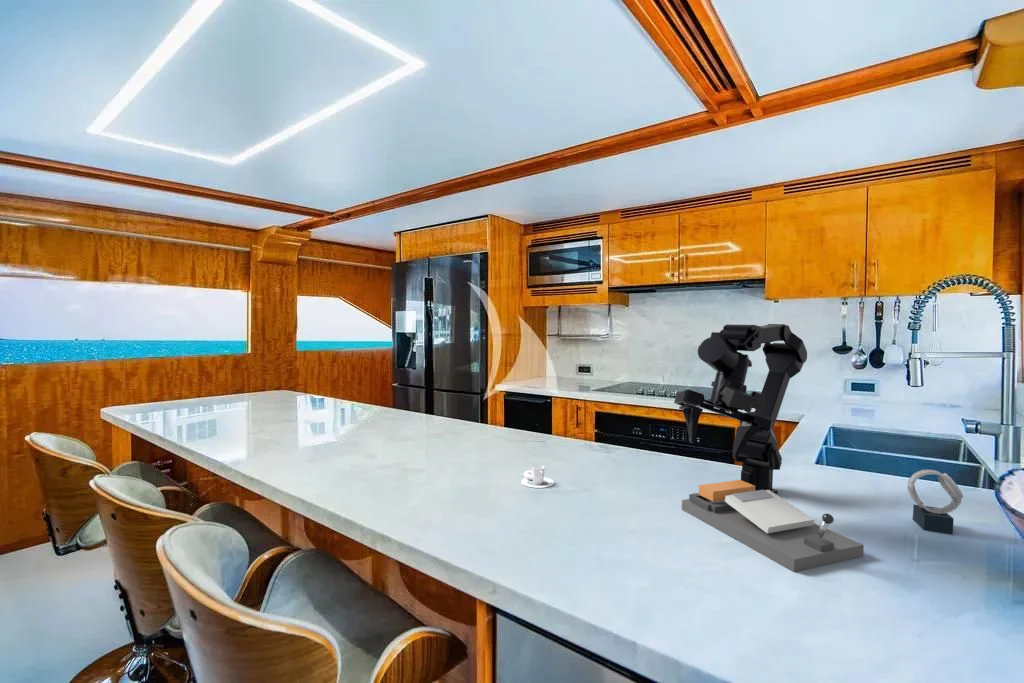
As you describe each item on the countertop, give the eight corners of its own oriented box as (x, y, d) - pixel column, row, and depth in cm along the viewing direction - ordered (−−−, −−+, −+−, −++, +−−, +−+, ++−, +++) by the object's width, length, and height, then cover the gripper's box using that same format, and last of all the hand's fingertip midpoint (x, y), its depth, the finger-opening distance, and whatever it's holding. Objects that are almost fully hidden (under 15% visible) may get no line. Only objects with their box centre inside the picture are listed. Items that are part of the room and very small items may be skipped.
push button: (739, 489, 101) (740, 479, 101) (755, 495, 97) (755, 486, 97) (698, 494, 97) (699, 485, 97) (712, 501, 94) (713, 491, 93)
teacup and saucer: (521, 477, 118) (521, 461, 118) (552, 477, 118) (553, 461, 118) (520, 489, 110) (521, 472, 110) (555, 490, 109) (555, 473, 109)
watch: (966, 536, 88) (969, 478, 87) (912, 528, 91) (915, 472, 91) (952, 525, 93) (955, 470, 93) (901, 517, 96) (904, 464, 96)
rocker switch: (767, 495, 94) (769, 488, 94) (812, 525, 85) (814, 518, 85) (724, 501, 91) (726, 494, 90) (767, 533, 82) (769, 526, 81)
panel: (740, 500, 104) (741, 486, 104) (863, 556, 79) (864, 537, 79) (681, 509, 98) (682, 494, 98) (793, 571, 74) (794, 551, 74)
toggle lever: (818, 533, 79) (828, 510, 78) (826, 540, 78) (837, 517, 76) (811, 534, 79) (821, 512, 77) (819, 541, 77) (830, 518, 76)
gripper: (704, 358, 93) (684, 434, 90) (795, 389, 92) (779, 467, 89) (682, 367, 104) (664, 435, 100) (764, 394, 103) (748, 464, 100)
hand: (712, 450), depth 97 cm, fingers open, 9 cm apart
